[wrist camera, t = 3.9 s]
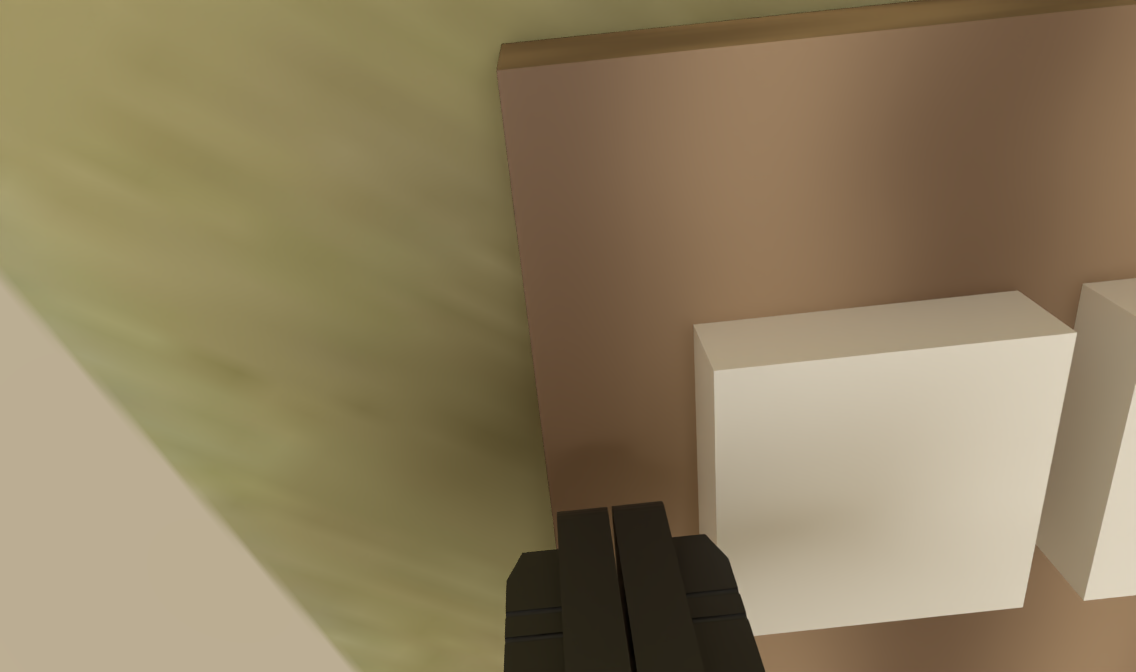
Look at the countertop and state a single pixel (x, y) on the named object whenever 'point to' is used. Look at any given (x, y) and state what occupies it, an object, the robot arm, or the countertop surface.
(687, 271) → the wooden switch plate
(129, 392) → the countertop surface
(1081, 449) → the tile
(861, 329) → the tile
